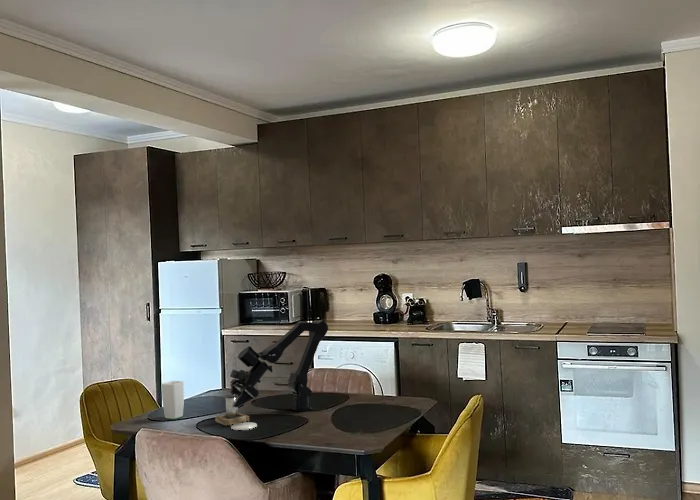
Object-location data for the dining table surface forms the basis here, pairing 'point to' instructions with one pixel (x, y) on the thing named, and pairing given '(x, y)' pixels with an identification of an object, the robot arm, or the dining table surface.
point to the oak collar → (226, 422)
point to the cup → (173, 399)
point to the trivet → (244, 426)
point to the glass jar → (231, 406)
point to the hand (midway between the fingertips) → (230, 404)
